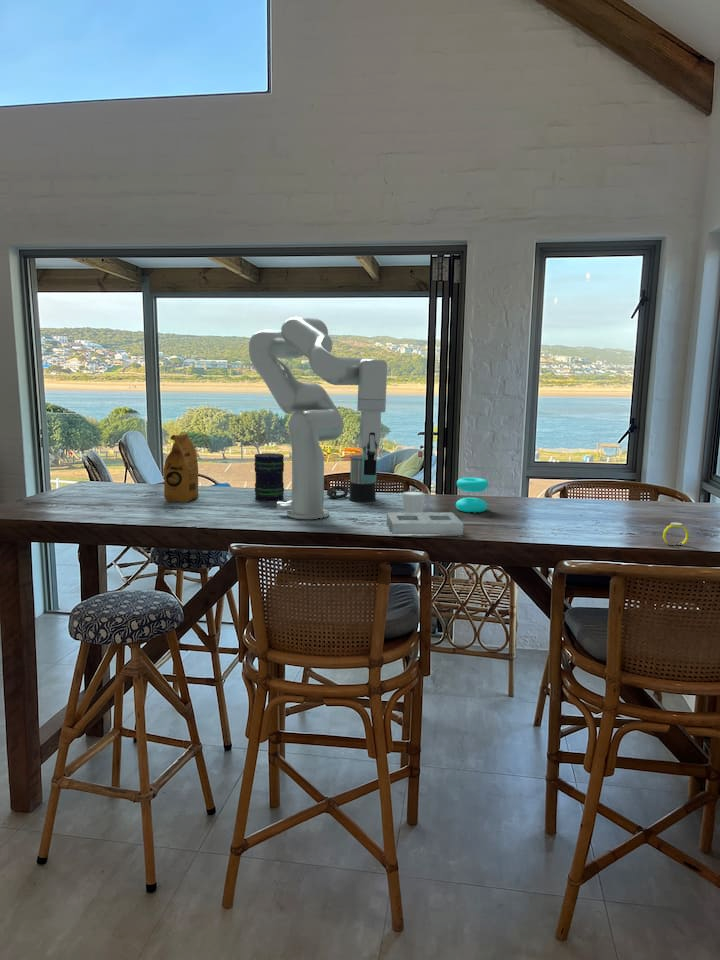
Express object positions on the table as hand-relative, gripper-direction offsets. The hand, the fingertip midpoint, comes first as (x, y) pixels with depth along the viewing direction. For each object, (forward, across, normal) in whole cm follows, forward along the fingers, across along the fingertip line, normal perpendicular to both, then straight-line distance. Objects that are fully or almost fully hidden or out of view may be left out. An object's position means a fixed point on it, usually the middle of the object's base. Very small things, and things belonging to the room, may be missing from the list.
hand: (369, 472), depth 183 cm
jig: (+16, +1, +16) cm, 22 cm away
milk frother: (+17, -45, -2) cm, 48 cm away
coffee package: (+18, -43, -58) cm, 75 cm away
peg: (+2, 0, 0) cm, 2 cm away
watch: (+14, +18, +79) cm, 82 cm away
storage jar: (+18, -44, -29) cm, 56 cm away
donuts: (+16, -26, +36) cm, 47 cm away
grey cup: (+16, -18, +16) cm, 29 cm away
